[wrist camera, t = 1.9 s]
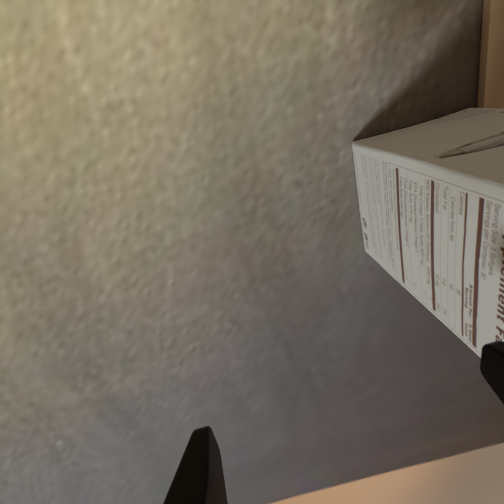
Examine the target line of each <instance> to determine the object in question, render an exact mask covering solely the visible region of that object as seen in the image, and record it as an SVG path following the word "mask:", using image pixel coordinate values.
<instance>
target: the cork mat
mask: <svg viewBox="0 0 504 504" xmlns="http://www.w3.org/2000/svg"><path fill="white" fill-rule="evenodd" d="M477 108H500V109H504V0H484V1H483V18H482V35H481V52H480V69H479V85H478V102H477Z"/></svg>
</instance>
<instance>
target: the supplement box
mask: <svg viewBox="0 0 504 504" xmlns="http://www.w3.org/2000/svg"><path fill="white" fill-rule="evenodd" d="M352 148H353V158H354V167H355V174H356V183H357V190H358V199H359V208H360V216H361V224H362V232H363V240H364V247H365V251H366V252H367V253H368V254H369V255H370V256H371V257H372V258H373V259H375V260H376V261H377V262H378V263H379V264H380V265H381V266H382V267H383V268H384V269H385V270H386V271H387V272H388V273H389V274H390V275H391V276H392V277H393V278H395V279H396V280H397V281H398V282H399V283H400V284H401V285H402V286H403V287H404V288H405V289H407V290H408V291H409V292H410V293H411V294H412V295H413V296H414V297H415V298H416V299H417V300H418V301H420V302H421V303H422V304H423V305H424V306H425V307H426V308H427V309H428V310H429V311H430V312H432V313H433V314H434V315H435V316H436V317H437V318H438V319H439V320H440V321H441V322H442V323H444V324H445V325H446V326H447V327H448V328H449V329H450V330H451V331H452V332H453V333H454V334H456V335H457V336H458V337H459V338H460V339H461V340H462V341H463V342H464V343H465V344H466V345H467V346H468V347H470V348H471V349H472V350H473V351H474V352H475V353H476V354H477V355H478V356H479V357H480V358H481V352H482V347H483V345H485V344H488V343H491V342H494V341H503V342H504V109H500V108H467V109H464V110H461V111H459V112H456V113H453V114H450V115H447V116H444V117H441V118H438V119H434V120H431V121H428V122H425V123H421V124H418V125H414V126H411V127H407V128H403V129H400V130H396V131H392V132H389V133H385V134H381V135H378V136H374V137H370V138H366V139H361V140H357V141H354V142H352Z"/></svg>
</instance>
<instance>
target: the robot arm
mask: <svg viewBox="0 0 504 504" xmlns="http://www.w3.org/2000/svg"><path fill="white" fill-rule="evenodd" d="M480 369H481V373H482V375H483V377H484V378H485V380H486V381H487V382H488V384H489V385H490V387H491V388H492V389H493V391H494V392H495V393H496V395H497V396H498V397H499V399H500V400H501V401H502V403H503V404H504V342H503V341H494V342H491V343H488V344H485V345H483V347H482V352H481V363H480ZM163 504H228V503H227V496H226V489H225V482H224V475H223V468H222V461H221V455H220V450H219V447H218V444H217V441H216V439H215V436H214V434H213V431H212V429H211V428H210V426H205V427H202V428H199V429H196V430H194V431H193V433H192V435H191V437H190V440H189V442H188V445H187V447H186V449H185V452H184V454H183V457H182V459H181V462H180V464H179V467H178V469H177V471H176V474H175V476H174V479H173V481H172V484H171V486H170V488H169V491H168V493H167V496H166V498H165V501H164V503H163Z"/></svg>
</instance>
